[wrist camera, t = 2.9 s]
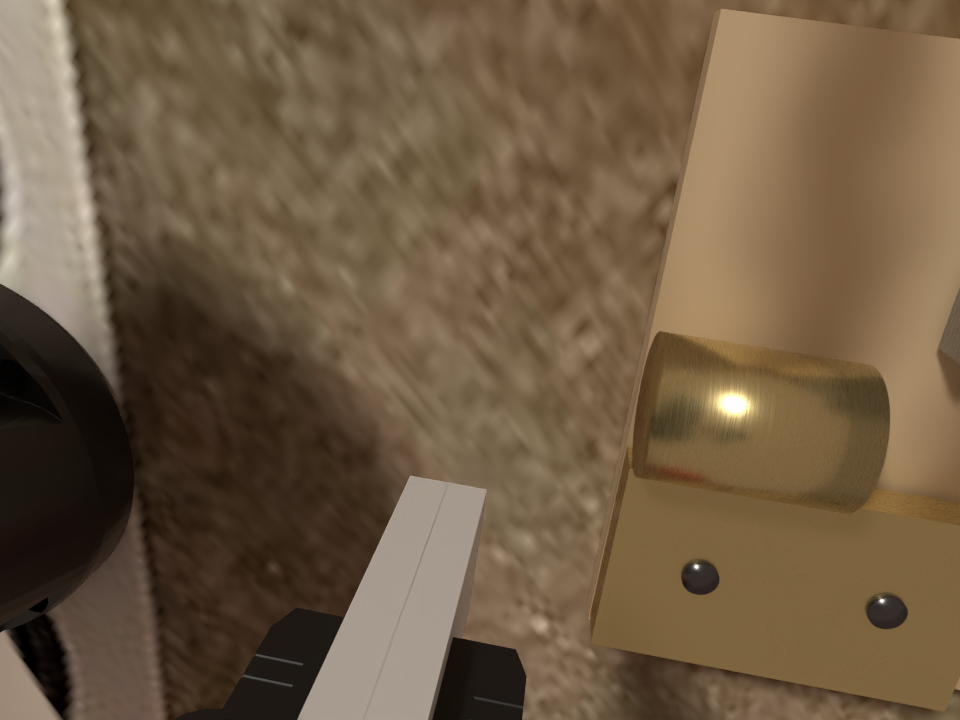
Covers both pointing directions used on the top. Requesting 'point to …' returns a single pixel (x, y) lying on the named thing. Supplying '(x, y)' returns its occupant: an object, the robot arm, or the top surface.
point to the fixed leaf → (952, 332)
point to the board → (824, 220)
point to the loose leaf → (777, 529)
